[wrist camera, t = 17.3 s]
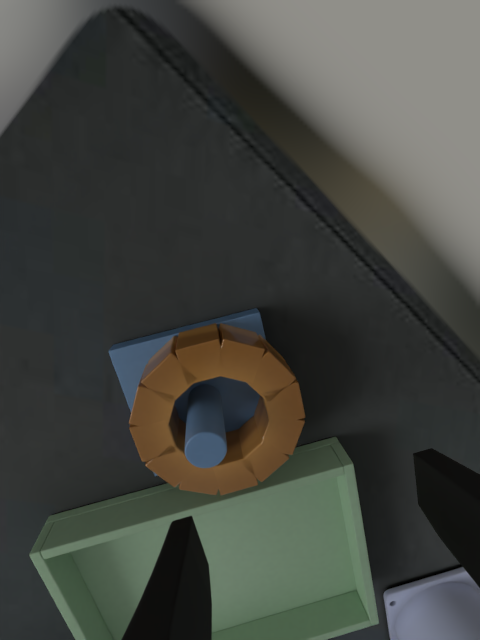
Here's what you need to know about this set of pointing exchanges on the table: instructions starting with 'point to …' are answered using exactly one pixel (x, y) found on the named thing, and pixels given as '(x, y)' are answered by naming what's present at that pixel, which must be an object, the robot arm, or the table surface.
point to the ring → (242, 444)
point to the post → (196, 391)
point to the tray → (224, 553)
